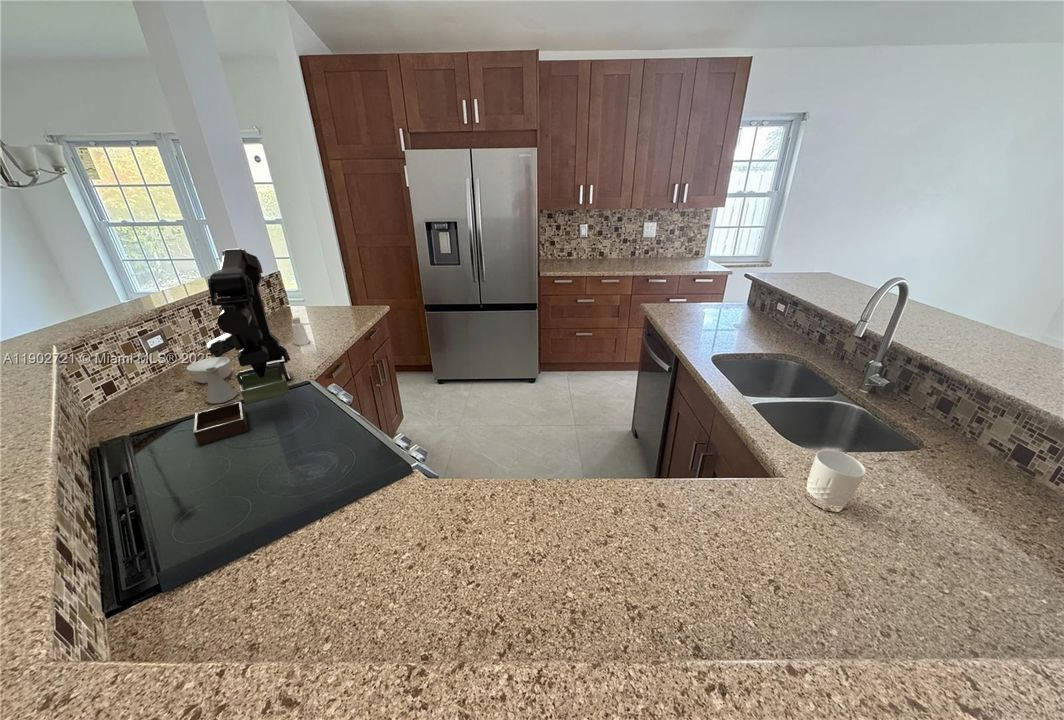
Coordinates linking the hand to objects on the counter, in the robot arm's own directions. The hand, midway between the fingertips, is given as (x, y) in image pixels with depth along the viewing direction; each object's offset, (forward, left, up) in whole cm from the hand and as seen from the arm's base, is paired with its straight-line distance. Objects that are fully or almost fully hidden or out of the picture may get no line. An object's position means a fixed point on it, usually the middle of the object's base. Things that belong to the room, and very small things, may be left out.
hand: (261, 376), depth 101 cm
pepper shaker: (-55, +16, -12) cm, 58 cm away
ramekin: (-38, -13, -12) cm, 42 cm away
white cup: (+109, +86, -12) cm, 139 cm away
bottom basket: (+1, -11, -12) cm, 16 cm away
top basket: (0, 0, -5) cm, 5 cm away
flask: (-19, -11, -12) cm, 25 cm away
